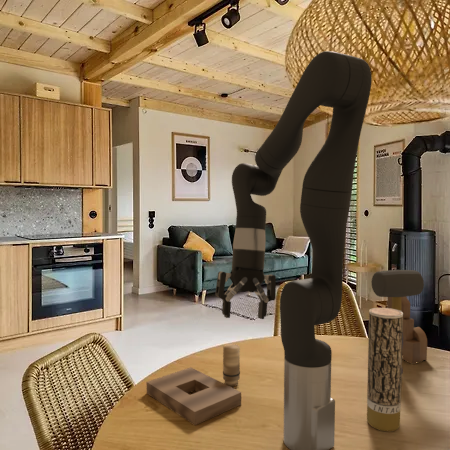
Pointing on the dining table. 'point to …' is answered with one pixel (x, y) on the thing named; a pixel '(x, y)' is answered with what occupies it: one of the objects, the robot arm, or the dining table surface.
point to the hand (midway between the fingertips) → (244, 318)
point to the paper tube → (384, 368)
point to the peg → (231, 364)
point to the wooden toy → (411, 335)
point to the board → (193, 395)
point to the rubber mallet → (397, 285)
